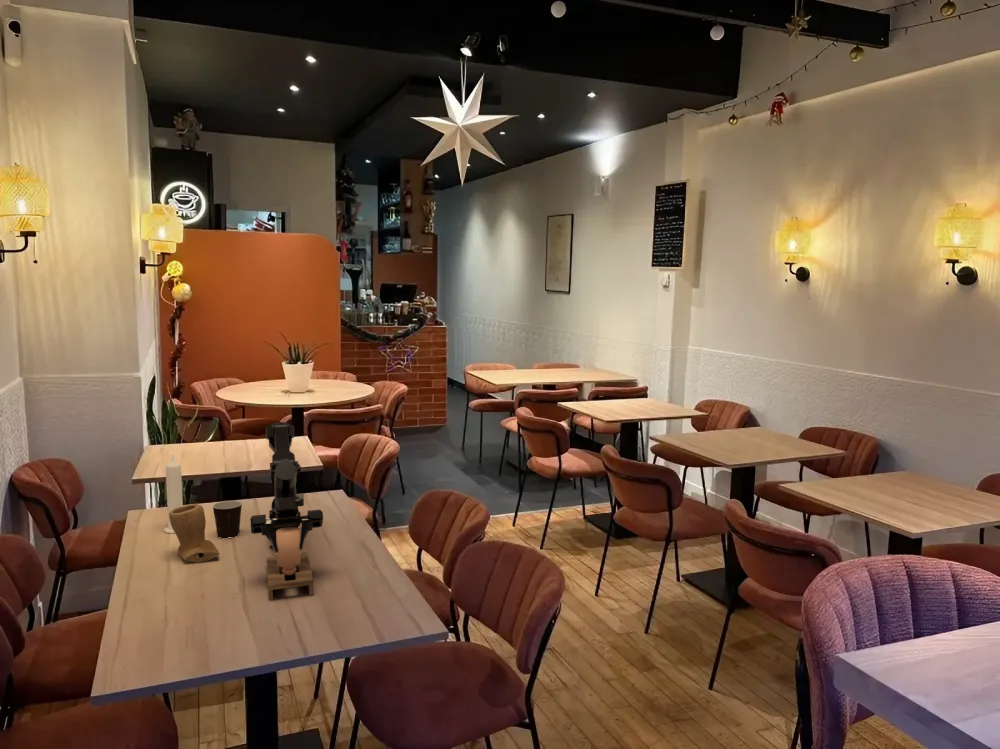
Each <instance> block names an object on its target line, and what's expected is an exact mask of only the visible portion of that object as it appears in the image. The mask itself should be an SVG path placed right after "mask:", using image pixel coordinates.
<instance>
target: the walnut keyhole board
mask: <svg viewBox="0 0 1000 749" xmlns="http://www.w3.org/2000/svg"><path fill="white" fill-rule="evenodd" d="M300 558H301V563H300V564H299V565H297V566H294V567H296V570H297V571H296V573H295V574H294V577H295V579H291V580H290V579H289V580H286V579H285V578H286V577H285V575H284V574H282V573H280V572H282V569H283V567H279V566H278V565H277V555H273V556H266V576H267V577H266V578H267V593H268V601H269V600H271V601H273V600H274V595H273V594H274V591H273V590H280V589H290V588H296V587H297V588H299V587H304V586H305V587H306V586H307V590H309V591H308V595H310V596H314V578H313V573H312V568H311V565H310V560H309V554H308V552H303V553H301V552H300Z"/></svg>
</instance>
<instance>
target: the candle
mask: <svg viewBox="0 0 1000 749" xmlns="http://www.w3.org/2000/svg"><path fill="white" fill-rule="evenodd" d="M165 480H166V481H165V482H166V484H165V485H166V501H167V502H166V505H167V521H168V522H167V525H168V526H166V527H164V529H163V532H164V531H165V532H170V533H171V532H173V533H175V532H174V530H173V528H172V526H171V523H170V517H169V513H170V512H171V511H172V510H174V509H175V508H178V507H182V506H184V504H183V502H184V501H183V479H182V464H181V463H180V462H178V461H177V460H176V459H175V455H174V454H172V455H171V459H170V461H169V462H168V463H167V464H166V465H165ZM165 532H164V533H165Z"/></svg>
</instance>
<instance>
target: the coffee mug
mask: <svg viewBox="0 0 1000 749" xmlns="http://www.w3.org/2000/svg"><path fill="white" fill-rule="evenodd" d="M212 510H213V516H214V522H215V528H216V534H217V538H219V537H221V538H220V539H222V538H228V537H234V538H236V537H235V536H237V535H238V534H239V535H240V527H241V517H242V514H241V513H242V502H241V501H238V500H224V501H223V500H222V501H219V502H216V503H214V504H212ZM239 535H238V536H239ZM238 536H237V537H238ZM228 539H229V538H228Z"/></svg>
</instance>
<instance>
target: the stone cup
mask: <svg viewBox="0 0 1000 749" xmlns="http://www.w3.org/2000/svg"><path fill="white" fill-rule="evenodd" d="M169 517H170V523H171V526H172V528H173V530H174V532H175V534H174V535H175V536H176V537H177V539H178V541H179V546H178V548H177V552H178V554H179V555H180V556H181V558H182V559H183V560H184V561H186V562H191V563H192V562H193V563H202V562H203V563H204V562H208V561H211V560H213V559H215V558H217V557H218V556H220V551H219V550H218V548H217V546H216V545H215V544H214V543H213V541H211V540H207V539H206V533H205V530H206V523H207V522H206V514H205V510H204V507H203V506H202V505H200V504H199V503H192V504H191V503H190V504H185V505H183V506H182V507H178V508H175V509H174V510H172V511H171V512H170V513H169Z"/></svg>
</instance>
